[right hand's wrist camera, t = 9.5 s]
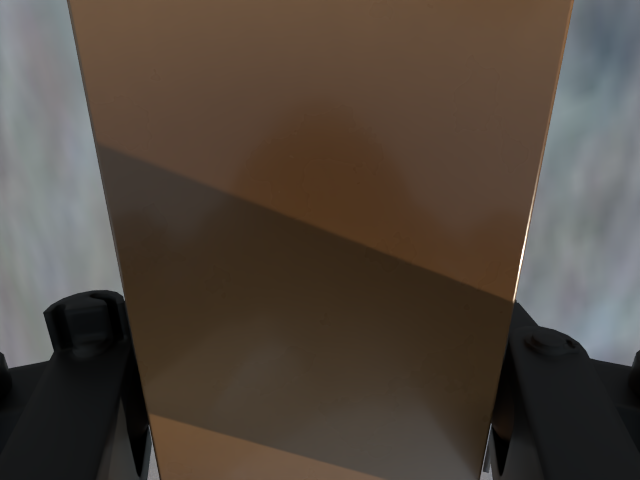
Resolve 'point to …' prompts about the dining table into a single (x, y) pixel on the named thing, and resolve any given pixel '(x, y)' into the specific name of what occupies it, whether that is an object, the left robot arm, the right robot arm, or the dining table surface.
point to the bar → (320, 221)
